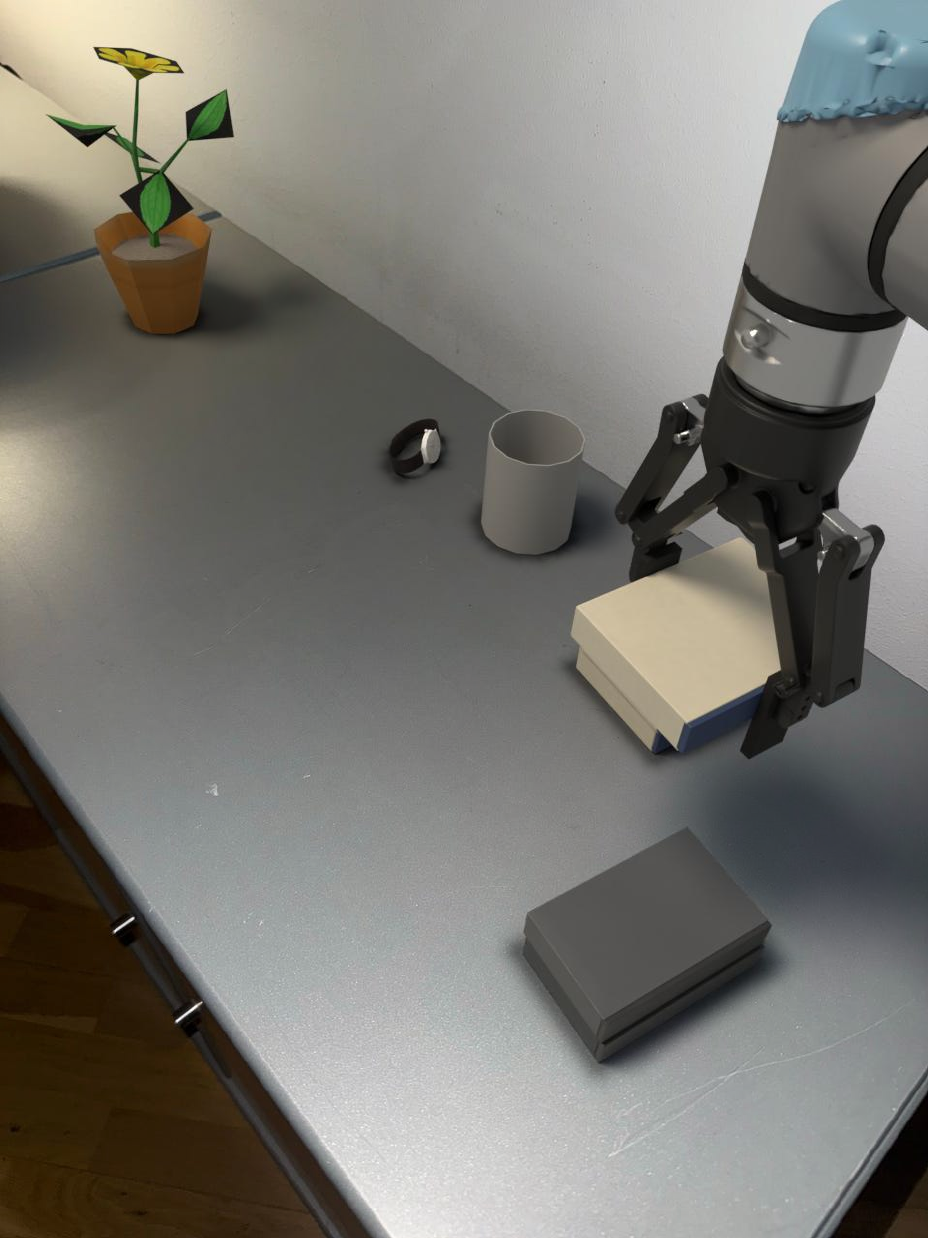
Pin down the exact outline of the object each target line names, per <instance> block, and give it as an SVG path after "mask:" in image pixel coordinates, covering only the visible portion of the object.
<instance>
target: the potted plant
mask: <svg viewBox="0 0 928 1238" xmlns="http://www.w3.org/2000/svg"><path fill="white" fill-rule="evenodd" d="M92 48H93V50H94V52H95V54H96V56H97V58H98V59H99V60H101V61H105V62H108V63H112V64H114V65H119V66H122V67H123V68H124V69H125V70H126V71H127V72H128V73H129V74H130V75H131V77H133V78H134V79H135V94H134V109H133V124H132V138H131V139H132V140H129V139H128V138H126V137H123V136H121V134H120V133H119V131H118V130H117V129H116V127H117V126H118V125H117V124H83V123H79V122H76V121H71V120H69V119H65V118H62V117H58V116H54V115H50V114H46V113H45V115H46V116H47V117H48V118H49V119H51V120H52V121H53V122H55V123H56V124H57V125H58V126H59V127H61V128H62V129H63V130H64V131H66V132H67V133H69V135H71V136H72V137H74V138H75V139H76V140H77V141H79V142H80V143H81V144H82V145H84V146H85V147H86V148H89V147H90V146H91V145H93V144H94V143H96V142H97V141H98V140H99V139H101V138H102V137H104V136H106V138H108V139H110V140H111V141H113V142H114V143H115V144H117V146H119V147H121V148H122V149H123V150H125V151H126V152H127V153H129V155H130V157H131V161H132V165H133V169H134V172H135V176H136V180H137V184H135V185H134V186H132V187H130V188H129V189H127V190H125V191H124V192H122V193H121V194H119V195H118V196H119V197H120V198H121V200H122V201H123V202H124V204H125V205H126V206H127V207H128V208H129V210H130V211H127V212H121V213H117V214H116V215H114V216H112V217H111V218H109V219H108V220H106V221H105V222H103V223H102V224H100V225H99V226H97V227H96V228H93V234H94V239H95V244H96V249H97V252H98V253H99V255H100V257H101V259H102V261H103V263H104V265H105V268H106V270H107V272H108V274H109V276H110V278H111V280H112V282H113V285H114V286H115V288H116V290H117V293H118V294H119V296H120V299H121V300H122V303H123V304H124V307H125V308H126V311H127V313H128V315H129V317H130V319H131V321H132V323H133V325H134V327H135V328H137V329H139V330H142V331H144V332H146V333H149V334H151V335H161V334H163V335H164V334H165V335H166V334H178V333H180V332H182V331H184V330H186V329H190V328H191V327H193V326H195V323H196V320H197V319H198V316H199V311H200V306H201V299H202V293H203V287H204V281H205V275H206V268H207V263H208V255H209V250H210V244H211V237H212V233H213V232H212V231H213V229H212V228H211V227H210V226H209V225H208V224H207V223H205V222H204V221H203V220H202V219H201V218H199V217H198V216H197V215H196V214H194V213H193V212H191V211H193V210H194V209H195V208H194V207H193V205H191V203H190V202H189V201H188V200H187V199H186V197H185V196H184V195H183V193H182V192H181V191H180V190H179V189H178V188H177V186H176V185H175V184H174V183H173V182H172V180H171V179H170V178H169V177H168V175H166V171H167V170H168V169H169V168H170V166H171V165H172V163H173V162H174V161H175V159H176V158H177V157H178V156H179V154H180V153H181V151H182V150H183V149H184V148H185V147H186V145H187V144H188V142H193V141H196V142H197V141H205V140H218V139H219V140H220V139H231V138H235V134H234V127H233V121H232V114H231V107H230V101H229V95H228V89H227V88H225V89H223V90H222V91H220V92H218V93H216V94H214V95H213V96H211V97H209V98H208V99H206V100H204V101H202V102H200V103H199V104H197V105H195V106H194V107H192V108H190V109H188V110H186V111H185V131H186V140H185V141H184V142H182V143H181V145H180V146H179V147H178V148H177V150H176V151H175V152H174V153H172V155H171V156H170V157H169V159H168V160H167V161H166V162H165V163H163V165H162V164H161V162H159V160H157V159H155V158H154V157H153V156H151V155H150V154H149V153H148V152H145V150H143V149H142V148H140V147H139V146H138V144H137V143H138V142H137V141H138V128H139V127H138V125H139V106H140V105H139V104H140V103H139V100H140V81H141V80H143V79H145V78H146V77H148V76H150V75H153V74H185V72H184V70H183V69H182V68H181V66H180V65H179V63H178V62H177V60H175V59H174V60H173V59H171V58H167V57H163V56H161V55H156V54H153V53H150V52H146V51H143V50H139V49H137V48H132V47H109V46H108V47H107V46H92ZM112 130H113V131H114V132H115V133H111V131H112ZM139 158H140V159H144V160H146V161H150V162H154V163H157V164H160V165H162V166H161V167H160V168H159V169H158V168H153V167H152V168H151V167H143V166H140V161H139ZM142 173H143V174H144V173H145V174H150V175H149V176H148V177H146V178H145V179H143V176H142Z"/></svg>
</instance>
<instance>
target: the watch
mask: <svg viewBox="0 0 928 1238" xmlns="http://www.w3.org/2000/svg"><path fill="white" fill-rule="evenodd" d="M421 435H423V437H422V440H421V445H420V446H421V447H420V450H419V451H418V452H417V453H416V454H414V455H412V456H410V457H408V458H404V459H397V455H398V454H399V452H400V451H401V450H402V449H404V447H405V446H406V444H407V443H409V442H410V441H411V440H413V439H415V438H416V437H418V436H421ZM440 450H441V434H440V427H439V422H438V420H436V419H435V418H424V419H423V418H422V419H419V420H417V421H413V422H412V423H409V424H408V425H407V426H406V427H404V428H402V430H400V431H399V432H398V433H395V436H394V437H393V438H392V439H391V444H390V445H389V447H388V451H387V452H388V456H389V457H388V458H389V460H390V464H391V468H392V470H393V471H394V472H396V473H398V474H409V473H412V472H415V471H417V470H419V469H420V468H421V467H423V466H424V465H426V464H434V463H435V462H437V460H438V459H439V456H440V452H441V451H440Z"/></svg>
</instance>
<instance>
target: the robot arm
mask: <svg viewBox="0 0 928 1238" xmlns="http://www.w3.org/2000/svg"><path fill="white" fill-rule="evenodd" d="M776 121H777V122H778V123H777V127H776V131H775V135H774V140H773V144H772V150H771V152H770V153H771V154H770V157H769V162H768V166H767V170H766V174H765V178H764V182H763V186H762V190H761V195H760V198H759V202H758V206H757V210H756V214H755V218H754V222H753V226H752V229H751V230H752V231H751V233H750V234H751V235H750V238H749V241H748V242H749V243H748V246H747V250H746V255H745V258H744V261H743V264H742V268H741V274H740V277H739V280H738V285H737V288H736V293H735V296H734V301H733V305H732V309H731V313H730V315H729V320H728V324H727V328H726V331H725V336H724V340H723V343H722V344H723V345H722V349H721V350H722V356H721V357H720V359H719V360H718V361H717V364H716V367H715V371H714V375H713V378H712V383H711V387H710V392H709V394H708V396H707V395H706V394H704V393H698V394H695V395H692V396H689V397H687V398H684V399H681V400H677V401H674V402H672V403H669V404H666V405H664V407H662V410H661V415H660V420H659V426H658V432H657V437H656V438H655V440H654V442H653V444H652V445H651V447H650V449H649V451H648V452H647V454H646V455H645V457H644V459H643V461H642V462H641V464H640V466H639V467H638V469H637V471H636V472H635V474H634V475H633V478H632V479H631V481H630V482H629V484H628V486H627V488H626V489H625V491H624V493H623V494H622V496H621V498H620V500H619V502H618V503H617V505H616V506H615V508H614V516H615V519H616V521H617V522H618V523H619V524H620V525H621V526H625V525H628V527H629V528H630V530H631V531H632V533H631V542H632V546H634V548H633V553H632V557H631V562H630V567H629V571H628V579H629V582H630V583H632V582H635V581H637V580H640V579H642V578H644V577H647V576H649V575H651V574H654V573H656V572H659V571H661V570H663V569H666V568H668V567H670V566H673V565H675V564H677V563H680V559H681V556H682V552H683V547H682V546H681V545H679V544H678V543H677V542H676V541H675V540H674V541H672V542H670V543H668V542H669V540H670V539H673V538H675V537H677V536H681V535H683V531H685V530H686V529H688V528H689V527H690V526H692V525H694V524H695V523H696V522H698V521H699V520H701V519H702V518H703V517H705V516H706V515H708V514H709V513H710V512H712V511H714V510H715V509H716V508H717V510H716V514H718V516H720V517H721V518H722V519H723V520H725V521H726V522H728V523H730V524H732V525H734V526H735V527H737V528H738V530H739V531H740V532H741V533H742V535H743V536H744V537H745V539H747V540H748V541H749V542H750V543H751V544H753V545H754V546H753V547H754V548H755V552H756V559H757V565H758V568H759V569H760V570H761V571H764V572H765V573H766V575H767V581H768V588H769V594H770V601H771V608H772V614H773V621H774V628H775V634H776V641H777V648H778V654H779V661H780V668H781V670H780V671H778V672H776V673H774V674H772V675H770V676H768V678H767V681H766V684H765V686H764V689H763V691H762V692H763V693H762V696H761V698H760V701H759V703H758V706H757V709H756V711H755V714H754V716H753V718H752V719H750V723H749V726H748V728H747V731H746V733H745V736H744V737H743V741H742V743H741V747H740V748H739V752H740V753H741V754H742V755H743V756H744V757H745V759H747V760H752V759H753V758H755V757H757V756H758V755H761V754H762V753H764V752H766V751H768V750H769V749H771V748H773V747H775V746H777V745H779V744H780V743H783V741H784V739H785V736H786V734H787V731H788V729H789V728H790V727H792V726H794V725H796V724H798V723H800V722H801V721H803V720H805V719H806V718H807V717H808V716H809V714H810V710H811V709H812V707H813V705H816V706H817V707H818V708H821V709H823V708H824V709H825V708H826V707H829V706H830V705H832V704H834V703H836V702H838V701H840V700H841V699H844V698H846V697H847V696H849V695H851V694H853V693H855V692H857V691H858V690H859V689H860V688H861V686H862V675H863V665H864V664H863V663H864V653H865V644H866V643H865V642H866V633H867V623H868V622H867V621H868V612H869V611H868V610H869V600H870V590H871V581H872V580H871V579H872V569H873V567H874V565H875V563H876V562H877V559H878V557H879V555H880V553H881V551H882V549H883V547H884V545H885V542H886V535H885V533H884V530H883V529H882V528H881V527H880V525H877V524H874V523H873V524H872V523H871V524H869V525H866V526H864V527H860V526H858V525H857V524H856V523H855V522H853V521H852V520H851V519H850V518H849V517H848V516H847V515H845V514H844V513H843V512H842V511H840V496H839V488H840V487H839V486H840V482H841V480H842V478H843V477H844V475H845V474H846V472H847V471H848V469H849V467H850V466H851V464H852V463H853V461H854V459H855V457H856V454H857V452H858V449H859V447H860V444H861V441H862V439H863V436H864V434H865V431H866V429H867V427H868V423H869V421H870V418H871V416H872V413H873V412H874V411H873V410H874V408H875V405H876V399H877V398H876V395H877V393H879V392H880V390H882V388H883V385H884V383H885V381H886V379H887V376H888V373H889V370H890V368H891V365H892V362H893V359H894V357H895V355H896V352H897V349H898V346H899V344H900V341H901V338H902V336H903V334H904V330H905V328H906V325H907V322H908V320H909V319H910V320H912V321H914V322H915V323H916V324H918V325H919V326H920V327H922V328H923V329H924V330H926V331H927V332H928V0H837V1H836V2H833V3H831V4H830V5H828V6H827V7H825V8H824V9H822V10H821V11H820V12H818V14H817V15H815V17H814V19H813V20H812V21H811V23H810V25H809V27H808V29H807V31H806V33H805V36H804V40H803V42H802V46H801V48H800V52H799V55H798V57H797V60H796V63H795V67H794V69H793V72H792V75H791V79H790V81H789V85H788V88H787V91H786V93H785V96H784V99H783V102H782V105H781V107H780V108H779V109H778V110H777V115H776ZM699 448H700V449H701V452H702V458H703V462H704V466H705V470H706V473H705V474H704V476H703V477H701V478H699V480H697V481H696V482H694V483H693V484H692V485H690V486H689V487H688V488H686V489H685V490H684V491H683V492H682V493H683V494H682V495H681V496H680V497H678V498H677V499H676V500H674V501H673V502H671V503H670V504H668V505H667V506H666V507H665V508H663V509H662V510H660V511H659V509H660V508H661V506H662V505H663V503H664V502H665V500H666V499H667V497H668V496H669V493H671V492H672V490H673V488H674V486H675V485H676V483H677V482H678V480H679V479H680V477H681V476H682V474H683V473H684V471H685V469H686V467H687V466H688V465H689V463H690V461H691V460H692V458H693V457H694V455H695V453H697V451H698V449H699ZM658 511H659V512H658ZM795 538H796V539H795ZM794 539H795V541H794V543H792V544H790V545H787V546H784V547H783V548H780V545H781V544H784V543H786V542H788V541H791V540H794ZM818 561H819V562H821V565H820V567H819V566H818V565H819V564H818Z"/></svg>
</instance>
